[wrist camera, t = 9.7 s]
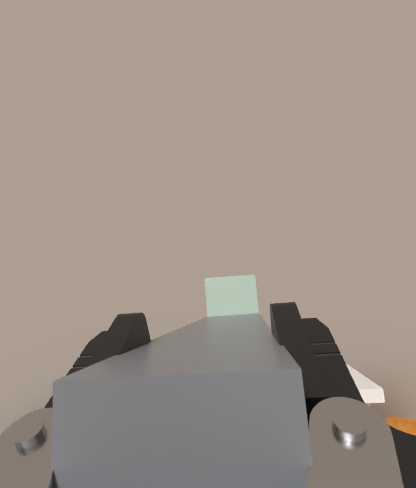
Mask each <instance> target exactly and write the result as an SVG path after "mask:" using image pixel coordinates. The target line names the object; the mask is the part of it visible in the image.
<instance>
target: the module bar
mask: <svg viewBox="0 0 416 488" xmlns="http://www.w3.org/2000/svg"><path fill="white" fill-rule="evenodd" d="M205 289H206V303H207V317H206V318H203V319H201V320H198V321H196V322H194V323H191V324H189V325H186V326H184V327H182V328H179V329H177V330H175V331H172V332H170V333H167V334H165V335H163V336H160V337H158V338H155V339H153V340H151V341H150V342H148V343H146V344H143V345H141V346H139V347H136V348H134V349H132V350H129V351H127V352H125V353H122V354H120V355H115V356H112V357H110V358H108V359H105V360H103V361H100V362H98V363H96V364H93V365H91V366H89V367H86V368H84V369H81V370H79V371H77V372H74V373H72V374H69V375H67V376H65V377H62V378H60V379H57V380H55V381H53V412H52V470H53V473H54V484H55V488H306V483H307V466H313V461H312V452H311V444H310V436H309V428H308V420H307V411H306V403H305V395H304V387H303V379H302V370H301V368H300V367H299V365H298V364H297V363H296V361H295V360H294V359H293V357H292V356H291V355H290V353H289V352H288V351H287V350H286V348H285V347H284V346H283V345H282V346H280V345H279V344H278V342H277V341H276V339H275V338H274V336H273V335H272V330H271V329H270V327H269V326H268V325H267V323H266V322H265V321H264V319H263V318H262V317H261V316H260V314H259V312H258V302H257V292H256V283H255V275H241V276H230V277H217V278H205Z"/></svg>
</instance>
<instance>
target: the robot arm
mask: <svg viewBox="0 0 416 488" xmlns="http://www.w3.org/2000/svg"><path fill="white" fill-rule="evenodd" d="M270 315H271V330H272V335H273V336H274V338H275V339H276V341H277V342H278V344H279V345H280V346H282V345H283V346H284V347H285V348H286V350H287V351H288V352H289V353H290V355H291V356H292V357H293V359H294V360H295V361H296V363H297V364H298V365H299V367H300V368H301V370H302V379H303V387H304V395H305V403H306V411H307V420H308V428H309V436H310V444H311V452H312V461H313V466H307V483H306V488H416V436H415V435H411V434H408V433H405V432H402V431H400V430H397V429H395V428H393V427H391V426H389V425H388V424H387V422H386V421H385V419H384V418H383V417H382V416H381V415H380V414H379V413H378V412H377V411H376V410H374V409H373V408H372V407H370V406H368V405H367V404H365V402H364V400H363V398H362V396H361V394H360V392H359V390H358V388H357V386H356V384H355V382H354V380H353V378H352V376H351V374H350V372H349V370H348V367H347V365H346V363H345V361H344V359H343V357H342V355H340V351H339V349H338V347H337V345H336V344H335V341H334V339H333V336H332V334H331V332H330V331H329V328H328V327H326V326H325V325H324V324H323V323H321V322H320V321H319V320H318V319H317V318H306V319H301V317H300V314H299V311H298V308H297V306H296V304H295V302H289V303H275V304H270ZM150 341H151V340H150V336H149V331H148V326H147V322H146V318H145V315H144V314H143V313H131V314H119V315H117V317H116V318H115V320H114V321H113V323H112V325H111V326H110V328H109V330H108V331H103V332H101V333H100V334H98V335H97V336H96V337H95V338H93V339H92V340H91V341H90V342H89V343H88V344H87V345H86V347H85V348H84V350H83V352H82V353H81V354H80V358H78V359H77V360H76V362H75V363H74V365H73V368H72V369H70V371H69V372H68V374H67V375H69V374H72V373H74V372H77V371H79V370H81V369H84V368H86V367H89V366H91V365H93V364H96V363H98V362H100V361H103V360H105V359H108V358H110V357H112V356H115V355H120V354H122V353H125V352H127V351H129V350H132V349H134V348H136V347H139V346H141V345H143V344H146V343H148V342H150ZM67 375H66V376H67ZM52 412H53V396H52V397H51V399H50V400H49V402H48V403H47V405H46V406H45V408H43V409H39V410H36V411H33V412H31V413H28V414H26V415H25V416H23V417H21V418H19V419H18V420H17V421H15V422H14V423H12V424H11V425H10V426H9V427H8V428H7V429H6V430H5V431H4V432H3V433H2V434H1V435H0V488H55V484H54V473H53V470H52Z"/></svg>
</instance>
